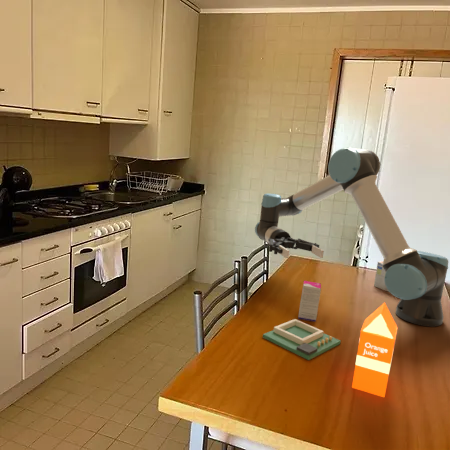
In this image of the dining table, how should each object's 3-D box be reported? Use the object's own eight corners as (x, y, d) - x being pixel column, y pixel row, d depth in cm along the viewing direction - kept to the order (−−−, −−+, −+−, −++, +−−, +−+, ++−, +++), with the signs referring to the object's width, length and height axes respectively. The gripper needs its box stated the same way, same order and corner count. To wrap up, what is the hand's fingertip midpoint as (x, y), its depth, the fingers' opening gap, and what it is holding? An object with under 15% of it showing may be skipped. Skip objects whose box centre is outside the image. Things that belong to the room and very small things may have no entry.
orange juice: (388, 380, 111) (402, 305, 107) (384, 397, 103) (399, 317, 99) (356, 371, 114) (368, 297, 110) (350, 387, 106) (363, 309, 102)
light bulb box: (405, 292, 179) (410, 267, 177) (395, 295, 175) (399, 269, 173) (383, 284, 188) (387, 259, 186) (373, 286, 184) (377, 261, 182)
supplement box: (316, 322, 142) (321, 288, 140) (298, 319, 143) (302, 285, 141) (316, 315, 148) (321, 282, 146) (298, 312, 149) (302, 280, 147)
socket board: (340, 343, 128) (341, 335, 128) (308, 360, 117) (309, 351, 117) (295, 324, 139) (296, 316, 139) (262, 337, 128) (263, 329, 128)
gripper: (304, 247, 178) (334, 264, 158) (247, 247, 169) (271, 265, 150) (307, 229, 176) (337, 243, 157) (249, 228, 167) (274, 243, 148)
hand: (305, 254), depth 153 cm, fingers open, 13 cm apart
